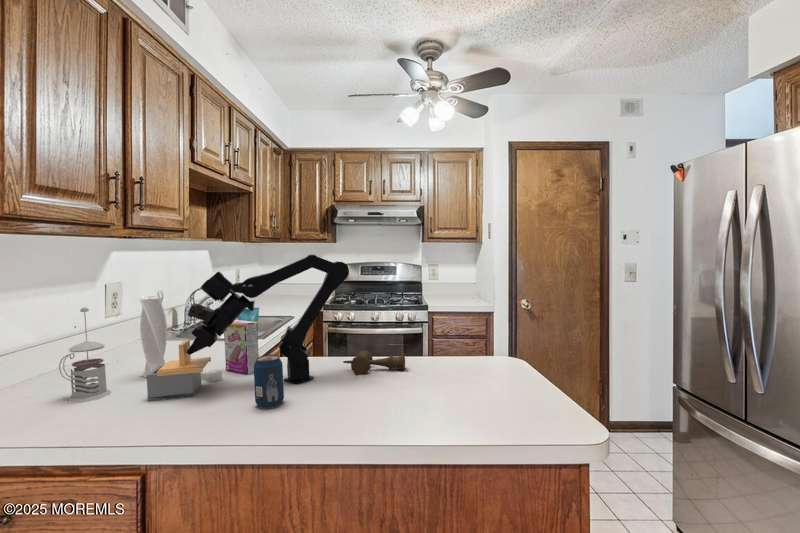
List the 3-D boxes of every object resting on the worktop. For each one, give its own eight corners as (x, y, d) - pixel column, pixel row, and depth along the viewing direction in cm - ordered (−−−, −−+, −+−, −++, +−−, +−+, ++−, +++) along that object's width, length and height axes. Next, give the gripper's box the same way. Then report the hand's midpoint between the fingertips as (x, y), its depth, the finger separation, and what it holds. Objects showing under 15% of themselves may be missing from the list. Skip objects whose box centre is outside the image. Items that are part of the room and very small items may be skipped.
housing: (201, 385, 122) (200, 361, 122) (193, 396, 112) (191, 371, 112) (160, 389, 119) (158, 365, 119) (148, 401, 110) (146, 375, 109)
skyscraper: (177, 374, 135) (172, 289, 134) (152, 381, 128) (147, 291, 127) (161, 371, 139) (156, 288, 138) (136, 378, 132) (131, 291, 131)
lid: (210, 361, 123) (209, 336, 123) (202, 372, 112) (200, 344, 111) (170, 364, 120) (168, 339, 120) (157, 376, 109) (155, 348, 109)
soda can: (270, 398, 109) (267, 353, 109) (290, 401, 106) (287, 355, 105) (249, 407, 103) (247, 359, 102) (269, 411, 100) (267, 362, 99)
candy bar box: (224, 371, 136) (222, 321, 136) (237, 367, 140) (235, 319, 140) (247, 375, 130) (244, 323, 130) (260, 371, 135) (257, 321, 134)
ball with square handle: (225, 378, 128) (225, 370, 128) (215, 382, 124) (214, 374, 124) (206, 376, 131) (205, 368, 131) (195, 380, 126) (195, 372, 126)
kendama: (404, 376, 126) (339, 375, 127) (405, 368, 136) (345, 367, 137) (404, 356, 126) (339, 356, 127) (405, 349, 136) (345, 349, 137)
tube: (241, 365, 143) (238, 310, 142) (237, 362, 147) (235, 308, 146) (262, 361, 147) (260, 307, 146) (259, 358, 151) (256, 306, 150)
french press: (99, 400, 111) (93, 308, 110) (51, 404, 110) (45, 311, 109) (118, 388, 121) (113, 304, 120) (74, 392, 119) (68, 306, 118)
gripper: (212, 290, 126) (174, 329, 124) (198, 296, 108) (153, 341, 106) (241, 314, 128) (204, 352, 126) (232, 324, 110) (188, 369, 108)
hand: (188, 353), depth 116 cm, fingers closed, pressing on lid
